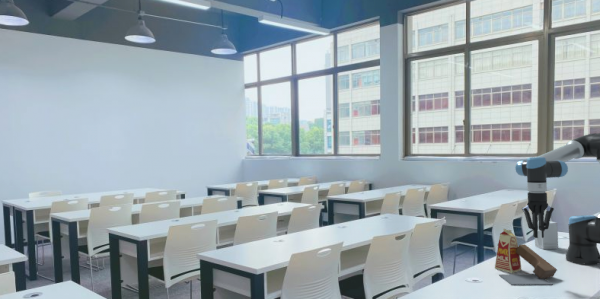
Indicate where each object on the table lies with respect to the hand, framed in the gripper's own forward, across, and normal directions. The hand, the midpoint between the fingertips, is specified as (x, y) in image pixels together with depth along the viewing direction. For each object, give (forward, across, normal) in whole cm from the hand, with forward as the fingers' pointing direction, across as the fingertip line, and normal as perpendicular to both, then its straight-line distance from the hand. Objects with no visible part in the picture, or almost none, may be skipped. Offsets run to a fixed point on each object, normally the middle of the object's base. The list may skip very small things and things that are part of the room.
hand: (538, 245), depth 187 cm
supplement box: (+16, +31, +61) cm, 70 cm away
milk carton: (+16, -7, +18) cm, 25 cm away
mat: (+16, -6, 0) cm, 17 cm away
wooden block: (+13, +4, +1) cm, 14 cm away
